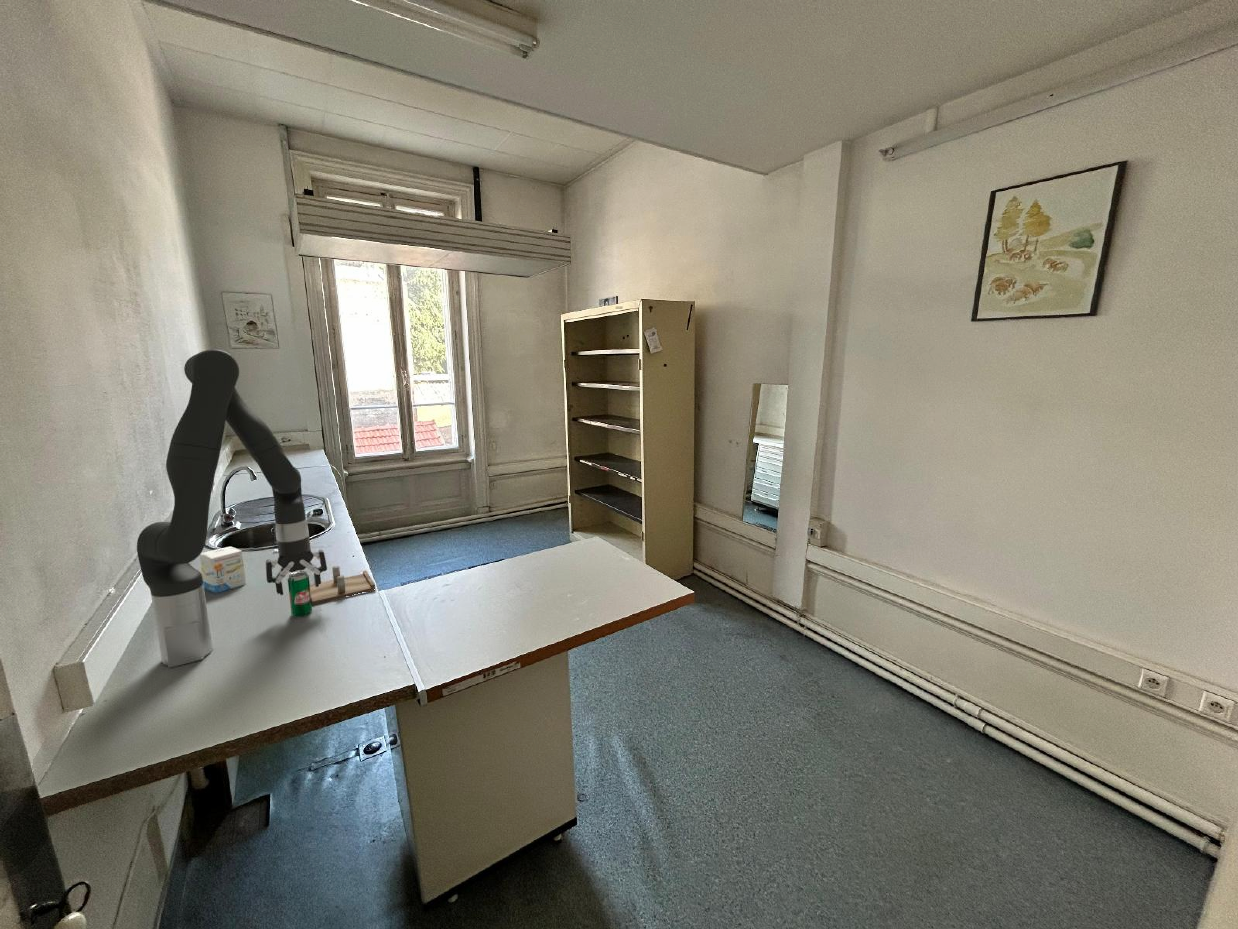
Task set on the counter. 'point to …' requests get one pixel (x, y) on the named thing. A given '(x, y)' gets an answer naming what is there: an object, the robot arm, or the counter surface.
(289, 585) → the soda can
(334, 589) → the tray
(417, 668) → the counter surface
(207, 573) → the ink box
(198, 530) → the robot arm
